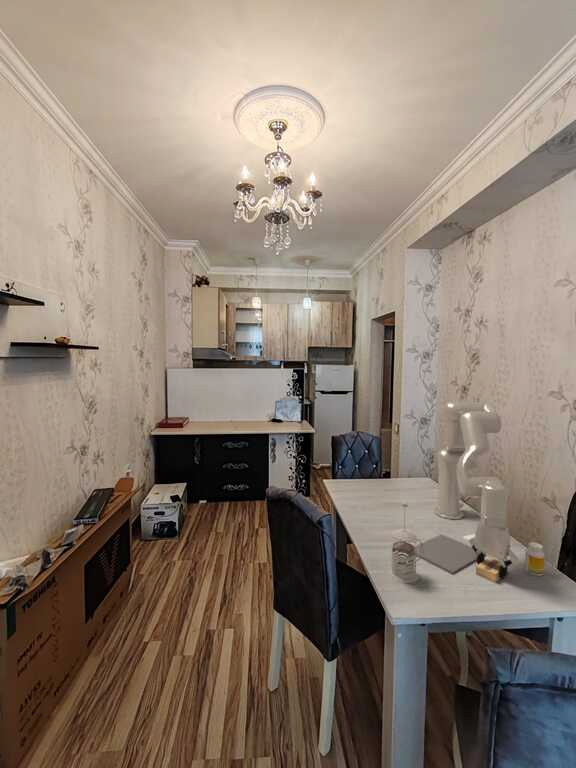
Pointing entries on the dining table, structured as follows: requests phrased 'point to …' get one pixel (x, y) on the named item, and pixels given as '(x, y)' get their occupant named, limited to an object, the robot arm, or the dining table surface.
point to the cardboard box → (489, 569)
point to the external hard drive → (468, 537)
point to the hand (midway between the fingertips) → (491, 570)
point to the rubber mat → (447, 553)
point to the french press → (401, 568)
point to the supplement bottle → (535, 559)
